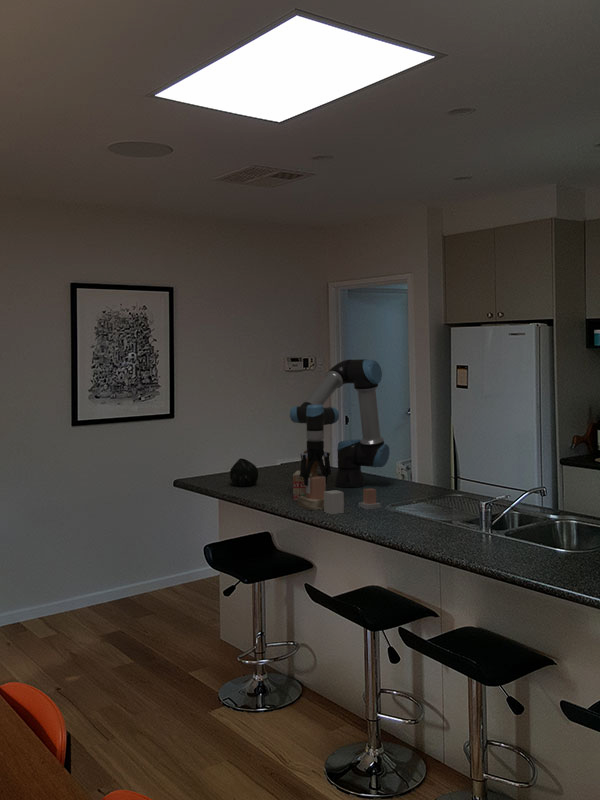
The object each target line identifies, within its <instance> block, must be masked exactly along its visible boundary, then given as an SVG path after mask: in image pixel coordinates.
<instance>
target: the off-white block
mask: <svg viewBox="0 0 600 800" xmlns="http://www.w3.org/2000/svg"><path fill="white" fill-rule="evenodd" d="M344 495H345V493H344V492H343V491H341V490H336V489H334V490H326V491H325V492H324V509H323V513H324V512H326V513H325V514H327V513H329V514H328V515H330V514H337V513H344V514H345V512H344V511H345V510H344V508H345V507H344V506H345V505H344V500H345V499H344V498H345V497H344ZM337 515H338V514H337Z"/></svg>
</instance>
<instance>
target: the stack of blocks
mask: <svg viewBox="0 0 600 800" xmlns="http://www.w3.org/2000/svg"><path fill="white" fill-rule="evenodd" d="M295 472H296V473H295ZM295 472H294V473H293V474H292V491H293V492H292V501H293V500H297V497H301V496H306V486H305V485H304V478H303V477H300V469H298V470H295ZM311 476H313V474H310V475H309V477H311Z"/></svg>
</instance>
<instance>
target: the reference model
mask: <svg viewBox="0 0 600 800" xmlns="http://www.w3.org/2000/svg"><path fill="white" fill-rule="evenodd" d="M362 489H363V491H362V493H363V495H362V496H363V497H362V499H363V500H362V501H361V502H358V508H360V507H362V508H361V509H363V508H364V510H366V509H367V510H366V511H369V509H370V510H376V509H377V508H378V509H381V508H382V503H381V502H377V489H376V488H373V487H372V488H362Z"/></svg>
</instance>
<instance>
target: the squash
mask: <svg viewBox="0 0 600 800" xmlns="http://www.w3.org/2000/svg"><path fill="white" fill-rule="evenodd" d="M229 477H230V481H231V483H232V484H234V486H236V487H241V486H244V487H245V486H246V487H251V486H250V485H252V486H254V485H255V484H256V483H257V481H258V479H259V470H258V467H257V466H256V465H255V464H254V463H253V462H252V461H249V460H247V459H246V458H239V459H238V460H237V461H236V462H235V463H234V464H233V465H232V467H231V468H230V471H229Z"/></svg>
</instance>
